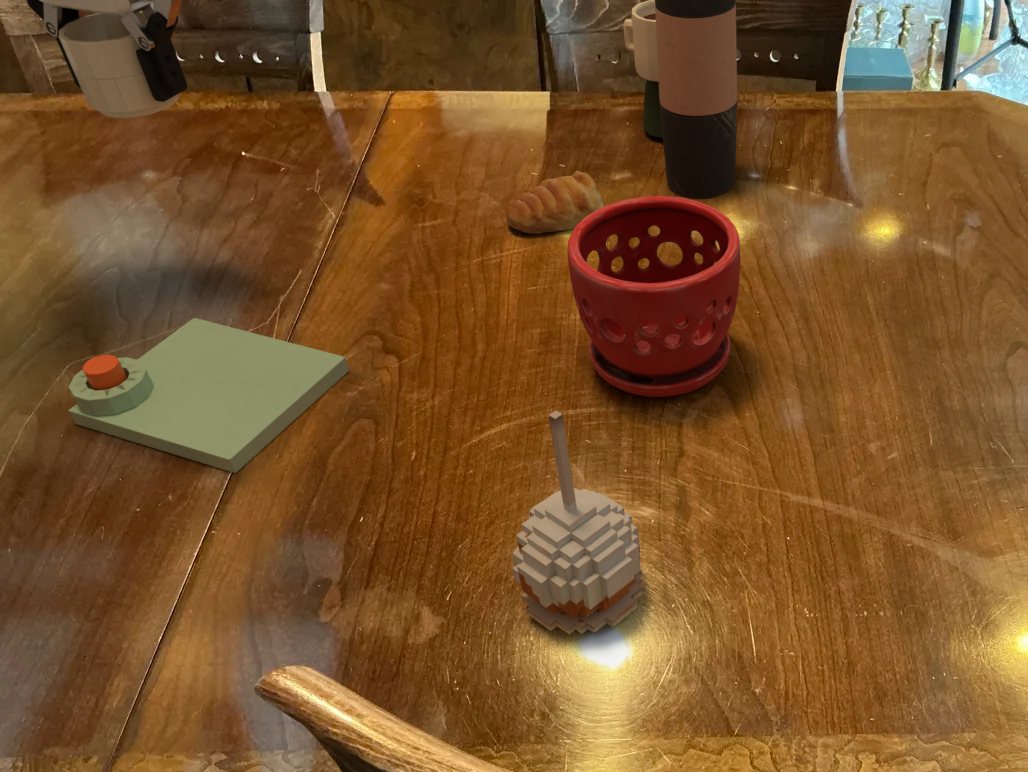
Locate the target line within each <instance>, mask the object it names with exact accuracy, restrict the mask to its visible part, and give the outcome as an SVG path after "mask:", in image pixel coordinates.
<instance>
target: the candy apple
mask: <svg viewBox="0 0 1028 772" xmlns="http://www.w3.org/2000/svg"><path fill="white" fill-rule="evenodd" d="M548 421H549V427H550V428H549V429H550V434H551V440H552V445H553V451H554V457H555V463H556V464H555V465H556V468H557V469H556V470H557V476H558V481H559V488H560V490H557V491H556V492H554V493H552V494H550V496H548V497H547V498H545V499H543V500H542V501H540V502H539V503H537V504H536V505H534V506H533V507H531V508H530V510H528V512H529V516H528V517H527V520H525V521H524V522H522V523H521V528H522V530H521V531H520V532H519V533H517V534H516V535H515V537H516V540H517V541H516V542H517V547H516V548H515V549H514V551H513V552H511V555H512V560H513V563H514V566H513V567H512V573H513V578H514V581H515V582H516V583H518V584H519V585H520V586H521V591H522V594H521V595H520V596H521V600H522V602H523V603H525V605H528V606H527V607H525V608H526V609H525V610H526V614H527V615H528V616H529V617H531V618H532V619H534V620H535V621H536V622H538V623H539V624H540V625H542V626H543V627H545V628H546V629H547V630H548V631H550V632H552V631H553V630H554V629H556V628H557V627H558V628H559V629H560V630H562V631H563V632H565V633H566V634H568V635H571V634H573V632H574V631H577V632H578V633H580V634H581V635H582V634H583V633H585V632H586V631H587V630H589V631H590V632H592V633H593V634H595V633H596V632H598V631H599V630H600V629H601V628H602V627H604V626H605V625H606V624H607V625H609V626H610V627H612V628H614V627H616V625H617V624H619V623H620V622H621V621H622V620H624V619H625V618H626V617H627V616H628V615H630V614H631V613H632V612H633V611H635V610H636V609H637V608H638V601H637V599H638V598H640V597H641V596H642V595H644V589H643V587H642V586H643V585H644V582H643V578H642V577H643V576H644V574H643V569H641V544H640V535H639V527H637V526H636V525H634V524H633V517H632V515H631V514H630V513H628V512H626V511H625V507H624V506H623V505H621V504H620V503H618V502H616V501H614V500H613V499H611V498H609V496H606V495H605V494H603V493H601V492H598V493H597V492H596V491H594V490H593V489H592V490H588V489H587V488H583V489H580V490H579V489H578V488H576V487H574V481H573V474H572V473H573V472H572V467H571V461H570V454H569V447H568V442H567V441H568V440H567V435H566V429H565V421H564V415H563V413H561V412H560V411H558V410H556V409H555V410H554V411H552V412H551V413H549V414H548Z"/></svg>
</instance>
